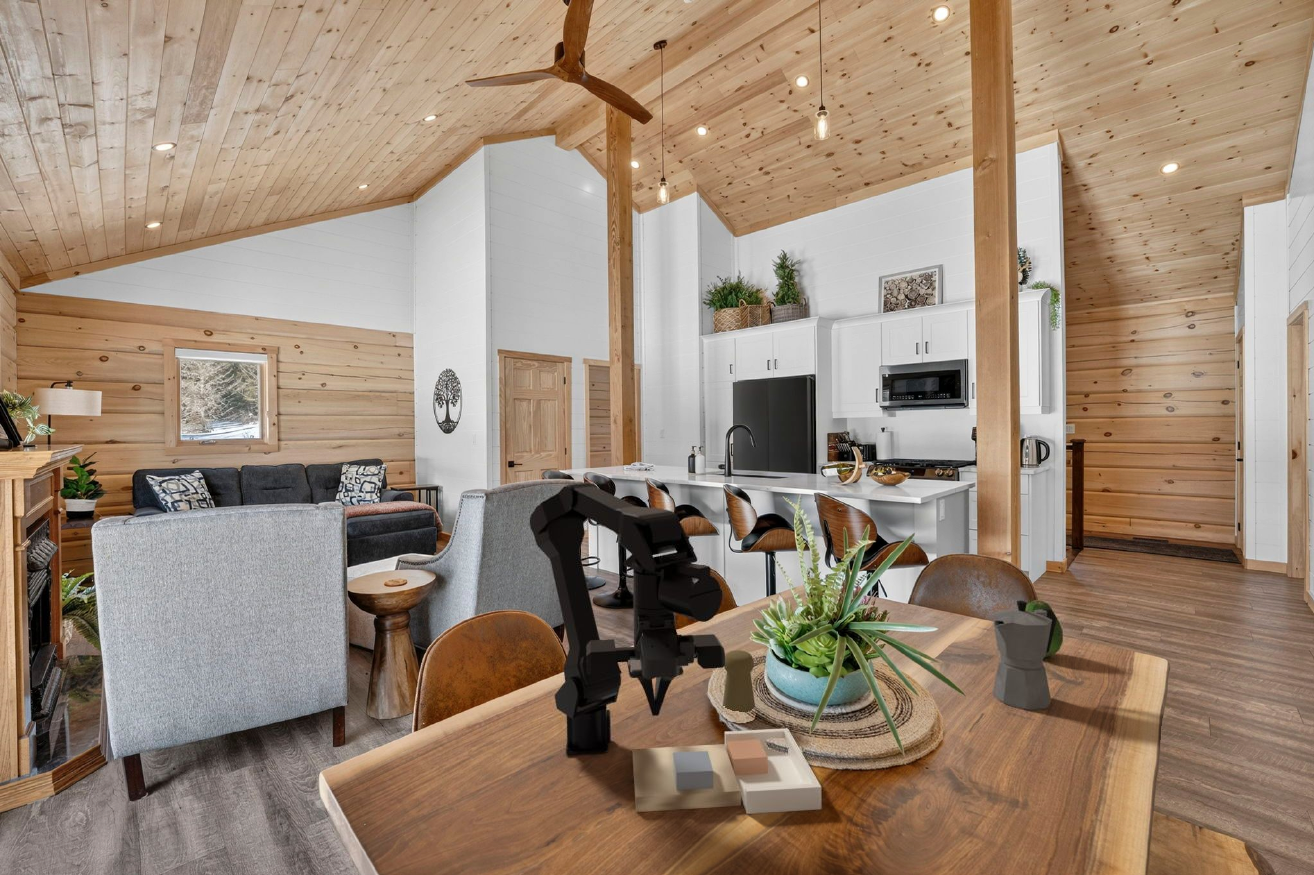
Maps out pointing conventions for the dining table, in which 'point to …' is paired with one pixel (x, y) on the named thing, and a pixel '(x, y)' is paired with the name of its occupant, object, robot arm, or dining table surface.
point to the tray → (778, 777)
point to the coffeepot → (1023, 656)
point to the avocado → (1058, 631)
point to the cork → (738, 681)
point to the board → (660, 788)
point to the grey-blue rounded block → (692, 770)
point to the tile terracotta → (747, 757)
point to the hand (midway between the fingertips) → (655, 714)
